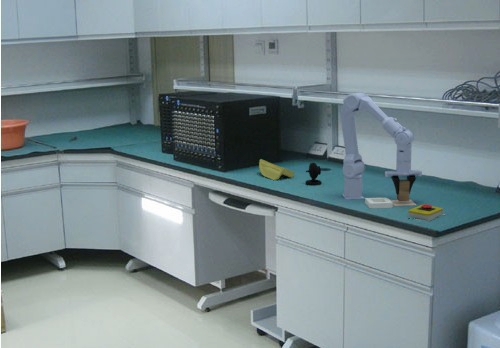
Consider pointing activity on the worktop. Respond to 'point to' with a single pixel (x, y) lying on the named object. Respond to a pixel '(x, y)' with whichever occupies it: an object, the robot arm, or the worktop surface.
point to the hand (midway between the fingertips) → (402, 193)
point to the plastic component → (273, 170)
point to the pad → (402, 203)
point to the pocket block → (378, 203)
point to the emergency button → (425, 212)
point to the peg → (403, 190)
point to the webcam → (313, 174)
